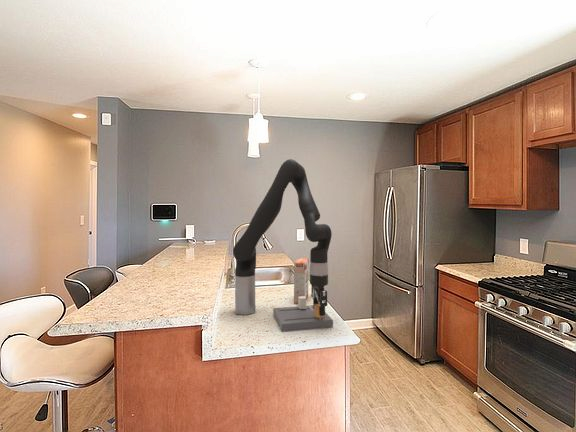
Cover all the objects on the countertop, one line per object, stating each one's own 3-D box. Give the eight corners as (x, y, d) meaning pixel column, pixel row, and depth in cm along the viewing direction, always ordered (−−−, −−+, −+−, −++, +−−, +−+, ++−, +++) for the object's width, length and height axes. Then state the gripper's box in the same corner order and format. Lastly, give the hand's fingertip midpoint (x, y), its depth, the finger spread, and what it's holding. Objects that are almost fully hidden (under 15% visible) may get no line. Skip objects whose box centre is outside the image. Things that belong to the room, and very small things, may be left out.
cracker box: (305, 304, 160) (305, 262, 159) (293, 303, 161) (293, 262, 160) (309, 296, 173) (309, 257, 173) (298, 295, 175) (298, 257, 174)
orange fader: (316, 317, 131) (316, 306, 130) (314, 315, 134) (314, 304, 133) (323, 317, 131) (323, 305, 131) (321, 314, 134) (321, 303, 134)
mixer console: (281, 331, 125) (281, 323, 125) (273, 314, 145) (273, 307, 145) (332, 327, 130) (332, 319, 129) (318, 311, 149) (318, 304, 149)
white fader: (300, 309, 142) (299, 298, 141) (298, 307, 144) (298, 296, 144) (306, 308, 142) (306, 298, 142) (304, 306, 145) (304, 296, 145)
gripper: (305, 269, 138) (305, 307, 139) (315, 277, 124) (315, 318, 125) (322, 269, 139) (322, 306, 140) (333, 276, 126) (333, 317, 126)
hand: (319, 311), depth 132 cm, fingers open, 8 cm apart
